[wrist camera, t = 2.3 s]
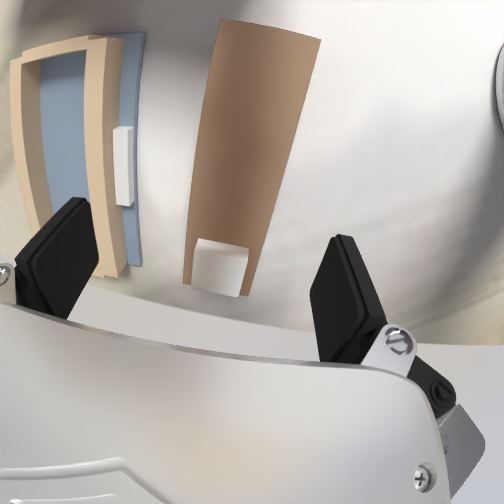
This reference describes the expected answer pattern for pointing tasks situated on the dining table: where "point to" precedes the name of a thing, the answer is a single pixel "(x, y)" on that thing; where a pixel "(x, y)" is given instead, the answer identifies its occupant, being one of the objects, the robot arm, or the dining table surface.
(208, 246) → the long brown block
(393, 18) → the dining table surface
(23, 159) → the cradle
